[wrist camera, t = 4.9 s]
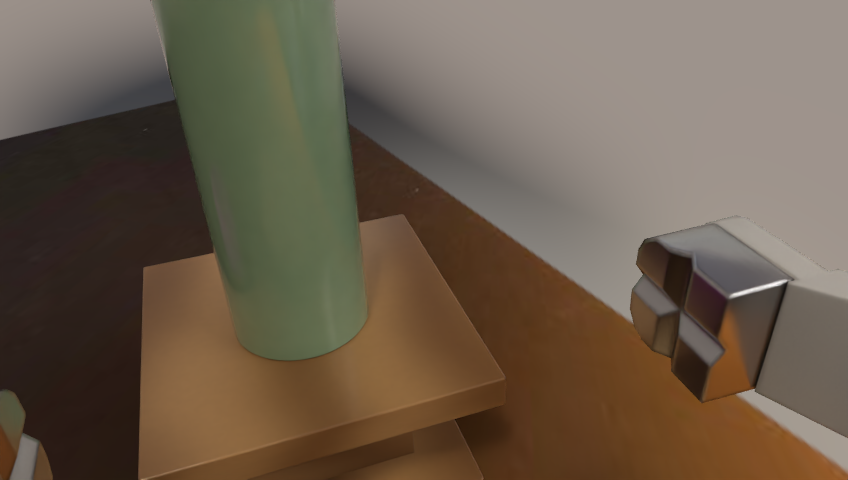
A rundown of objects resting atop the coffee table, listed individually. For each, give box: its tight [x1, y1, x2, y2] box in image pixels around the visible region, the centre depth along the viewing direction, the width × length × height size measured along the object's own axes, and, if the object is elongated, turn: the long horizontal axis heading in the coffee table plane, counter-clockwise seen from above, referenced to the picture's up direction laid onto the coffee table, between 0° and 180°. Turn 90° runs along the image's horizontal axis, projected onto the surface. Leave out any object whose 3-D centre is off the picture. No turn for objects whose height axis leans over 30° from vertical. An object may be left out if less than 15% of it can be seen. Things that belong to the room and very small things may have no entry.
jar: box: [150, 0, 369, 361], centre depth 21 cm, size 5×5×13 cm
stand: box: [138, 214, 506, 480], centre depth 26 cm, size 11×11×6 cm
